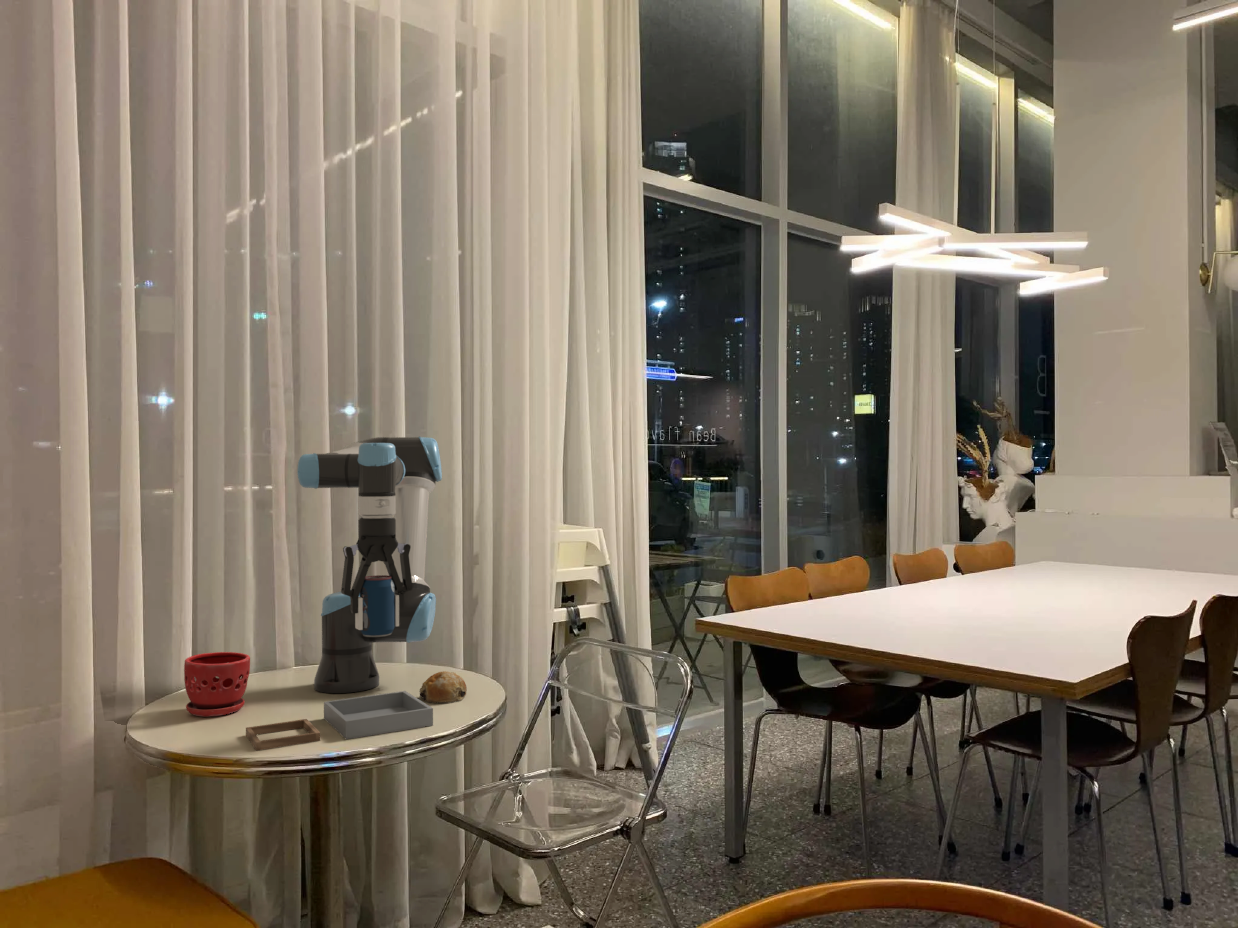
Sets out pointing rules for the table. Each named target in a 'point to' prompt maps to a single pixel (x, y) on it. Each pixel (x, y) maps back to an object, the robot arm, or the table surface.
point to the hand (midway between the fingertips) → (377, 626)
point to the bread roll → (443, 688)
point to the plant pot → (216, 682)
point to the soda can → (378, 606)
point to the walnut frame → (284, 741)
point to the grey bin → (377, 714)
